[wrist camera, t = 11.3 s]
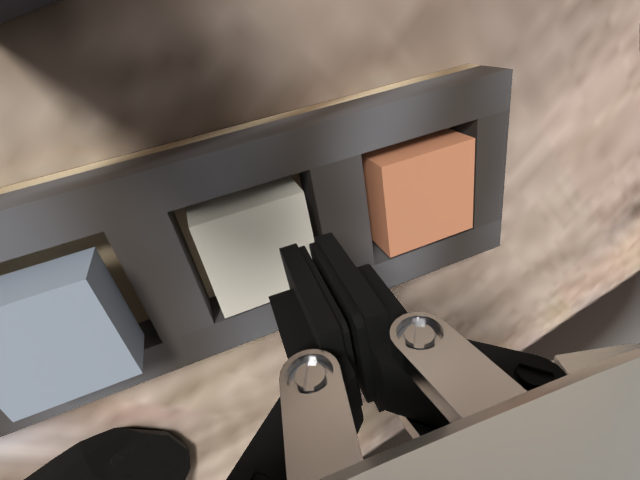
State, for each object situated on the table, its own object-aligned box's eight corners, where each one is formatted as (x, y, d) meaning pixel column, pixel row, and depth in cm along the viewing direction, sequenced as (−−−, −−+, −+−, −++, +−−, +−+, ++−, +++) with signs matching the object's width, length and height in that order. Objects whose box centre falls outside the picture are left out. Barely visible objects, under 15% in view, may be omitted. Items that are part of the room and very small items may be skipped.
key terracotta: (443, 127, 17) (475, 137, 15) (444, 210, 19) (472, 227, 17) (358, 152, 16) (381, 167, 14) (369, 236, 18) (390, 257, 16)
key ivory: (288, 174, 15) (303, 191, 14) (307, 258, 17) (323, 282, 16) (185, 204, 15) (188, 227, 13) (218, 289, 17) (225, 318, 15)
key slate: (95, 246, 13) (85, 279, 11) (144, 334, 15) (142, 373, 13) (-43, 288, 12) (-75, 330, 10) (30, 375, 14) (12, 422, 13)
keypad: (468, 63, 17) (512, 69, 15) (465, 223, 21) (499, 245, 19) (-408, 296, 11) (-544, 360, 9) (-177, 455, 15) (-231, 525, 13)
